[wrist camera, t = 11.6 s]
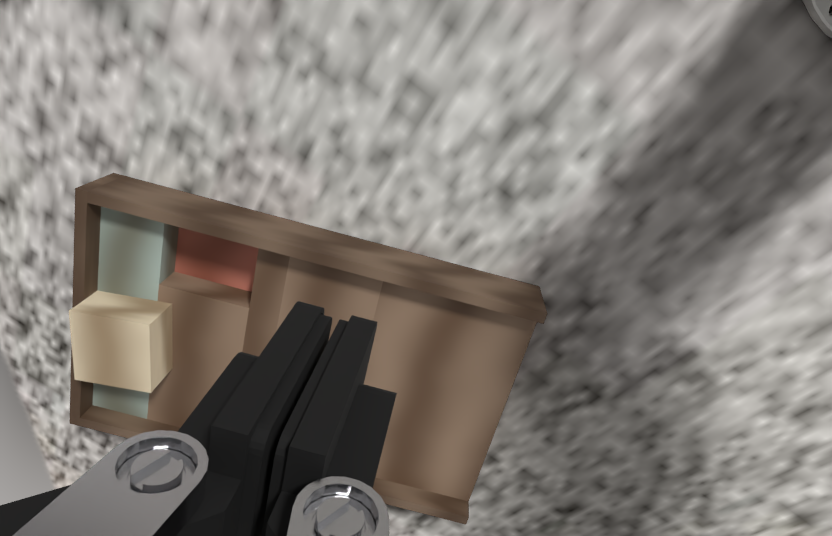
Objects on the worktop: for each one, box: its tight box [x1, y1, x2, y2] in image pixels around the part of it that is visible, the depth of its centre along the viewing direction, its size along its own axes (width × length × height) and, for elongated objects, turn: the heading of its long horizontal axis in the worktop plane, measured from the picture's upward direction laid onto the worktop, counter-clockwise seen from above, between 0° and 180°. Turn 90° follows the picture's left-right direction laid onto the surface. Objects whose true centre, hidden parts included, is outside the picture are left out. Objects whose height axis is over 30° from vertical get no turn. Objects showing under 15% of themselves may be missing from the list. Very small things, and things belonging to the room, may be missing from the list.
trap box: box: [70, 173, 547, 524], centre depth 40 cm, size 29×17×4 cm, turn 76°
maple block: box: [69, 291, 173, 393], centre depth 38 cm, size 5×5×3 cm
